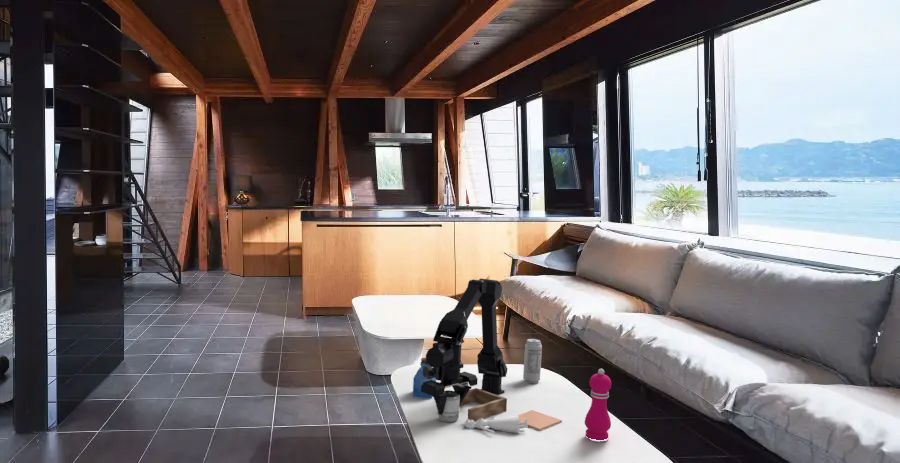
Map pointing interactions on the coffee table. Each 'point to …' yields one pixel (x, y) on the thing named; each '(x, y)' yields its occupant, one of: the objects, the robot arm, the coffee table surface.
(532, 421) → the terracotta coaster
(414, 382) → the perfume bottle
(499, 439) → the coffee table surface
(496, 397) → the frame
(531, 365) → the energy drink can
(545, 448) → the coffee table surface
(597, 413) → the pepper mill
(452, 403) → the camera lens
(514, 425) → the woman figurine
